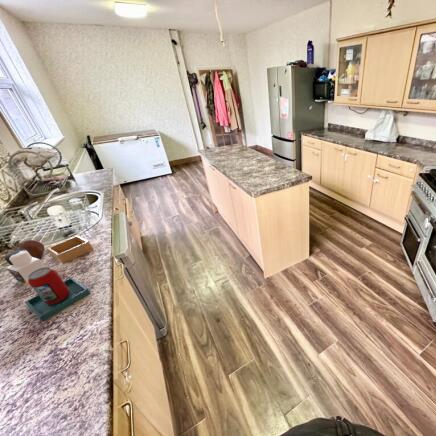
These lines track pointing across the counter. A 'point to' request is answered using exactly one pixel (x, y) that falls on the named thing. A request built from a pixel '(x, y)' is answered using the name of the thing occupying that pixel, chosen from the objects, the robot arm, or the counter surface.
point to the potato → (33, 248)
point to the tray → (48, 311)
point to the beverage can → (48, 285)
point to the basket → (70, 249)
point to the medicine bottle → (22, 265)
